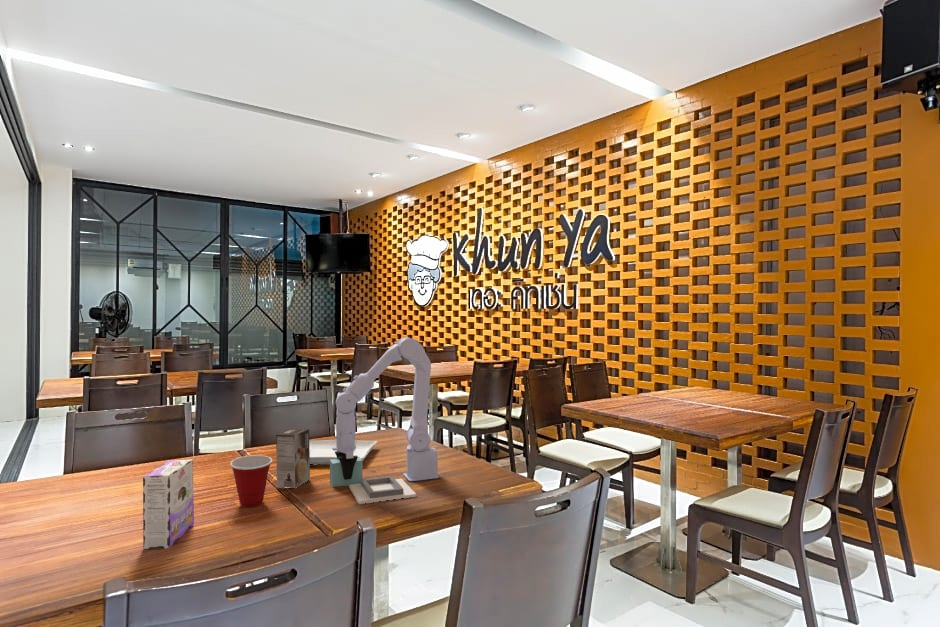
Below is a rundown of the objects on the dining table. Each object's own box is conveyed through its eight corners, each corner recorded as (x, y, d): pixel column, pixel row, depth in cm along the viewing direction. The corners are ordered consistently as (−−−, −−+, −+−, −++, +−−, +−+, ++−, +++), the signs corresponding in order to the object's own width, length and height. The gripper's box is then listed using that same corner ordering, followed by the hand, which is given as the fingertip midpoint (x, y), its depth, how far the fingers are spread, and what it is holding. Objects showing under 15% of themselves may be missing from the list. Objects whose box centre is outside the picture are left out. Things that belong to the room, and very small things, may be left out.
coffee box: (291, 479, 177) (291, 428, 176) (310, 480, 175) (310, 428, 175) (275, 488, 168) (275, 434, 168) (295, 489, 166) (295, 435, 166)
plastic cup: (232, 513, 147) (231, 467, 147) (228, 501, 156) (228, 458, 156) (275, 506, 152) (275, 461, 152) (269, 495, 161) (269, 453, 161)
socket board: (401, 481, 174) (401, 473, 174) (416, 496, 159) (416, 488, 159) (349, 487, 168) (349, 479, 168) (359, 504, 153) (359, 495, 153)
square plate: (364, 468, 190) (364, 457, 190) (283, 468, 190) (283, 457, 190) (378, 449, 217) (378, 438, 217) (307, 449, 217) (307, 439, 217)
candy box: (169, 526, 138) (169, 459, 138) (194, 525, 139) (194, 458, 139) (142, 550, 124) (141, 475, 124) (169, 548, 125) (169, 474, 125)
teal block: (359, 479, 176) (359, 456, 176) (362, 483, 172) (362, 460, 172) (330, 482, 173) (329, 459, 173) (332, 487, 168) (332, 463, 168)
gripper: (329, 428, 178) (329, 471, 178) (336, 438, 164) (336, 484, 164) (351, 426, 180) (352, 469, 180) (360, 436, 167) (360, 481, 167)
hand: (346, 476), depth 172 cm, fingers closed on teal block, 5 cm apart
